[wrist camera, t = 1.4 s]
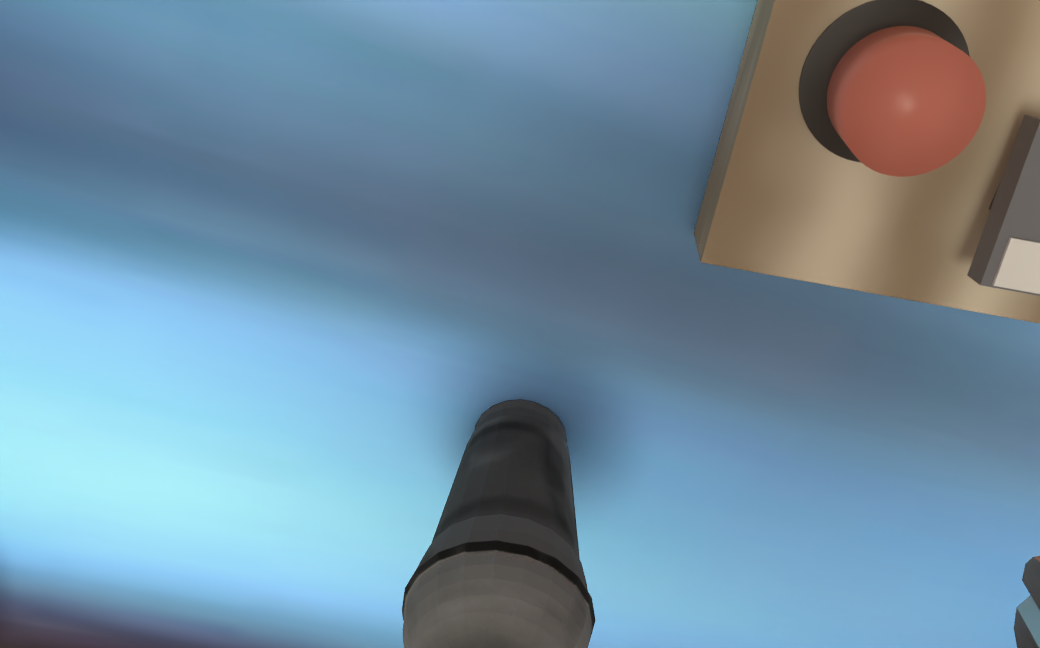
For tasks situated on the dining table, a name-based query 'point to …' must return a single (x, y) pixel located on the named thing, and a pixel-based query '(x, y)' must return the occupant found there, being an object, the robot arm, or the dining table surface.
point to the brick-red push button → (906, 100)
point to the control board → (848, 182)
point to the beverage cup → (504, 544)
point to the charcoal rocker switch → (1014, 221)
